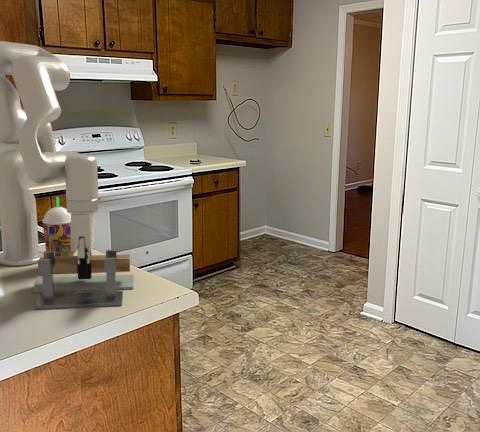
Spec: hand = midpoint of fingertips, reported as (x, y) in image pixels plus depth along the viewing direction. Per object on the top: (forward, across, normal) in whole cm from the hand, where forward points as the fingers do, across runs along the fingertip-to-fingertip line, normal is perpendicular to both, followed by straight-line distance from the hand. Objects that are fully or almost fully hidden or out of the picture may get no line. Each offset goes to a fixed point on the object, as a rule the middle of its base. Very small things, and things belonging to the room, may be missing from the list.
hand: (85, 275), depth 126 cm
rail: (-1, 0, 0) cm, 1 cm away
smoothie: (+3, -14, -8) cm, 16 cm away
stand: (+3, +11, 0) cm, 11 cm away
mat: (+3, 0, 0) cm, 3 cm away
